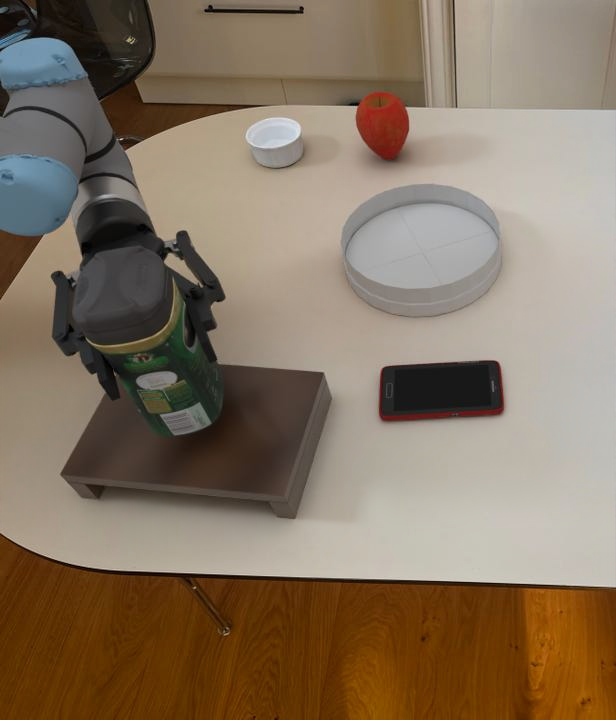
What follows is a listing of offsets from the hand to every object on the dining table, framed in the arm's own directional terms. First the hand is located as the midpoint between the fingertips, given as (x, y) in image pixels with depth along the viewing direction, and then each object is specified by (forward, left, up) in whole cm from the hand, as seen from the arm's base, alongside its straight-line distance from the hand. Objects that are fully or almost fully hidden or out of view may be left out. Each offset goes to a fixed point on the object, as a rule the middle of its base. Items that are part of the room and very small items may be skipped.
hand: (160, 370), depth 63 cm
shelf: (-3, +4, -19) cm, 19 cm away
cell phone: (+22, +14, -19) cm, 32 cm away
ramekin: (-12, +60, -19) cm, 64 cm away
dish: (+16, +37, -19) cm, 45 cm away
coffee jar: (-3, +4, -11) cm, 12 cm away
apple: (+6, +61, -19) cm, 64 cm away
